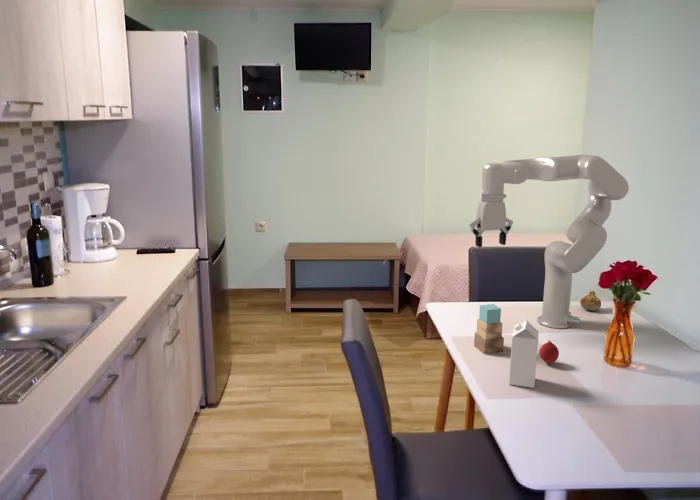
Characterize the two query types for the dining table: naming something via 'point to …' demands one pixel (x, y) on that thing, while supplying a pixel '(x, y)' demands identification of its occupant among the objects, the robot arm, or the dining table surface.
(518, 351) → the milk carton
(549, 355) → the onion
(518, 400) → the dining table surface
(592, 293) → the onion
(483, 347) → the walnut base block
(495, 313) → the teal cube
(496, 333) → the oak middle block
